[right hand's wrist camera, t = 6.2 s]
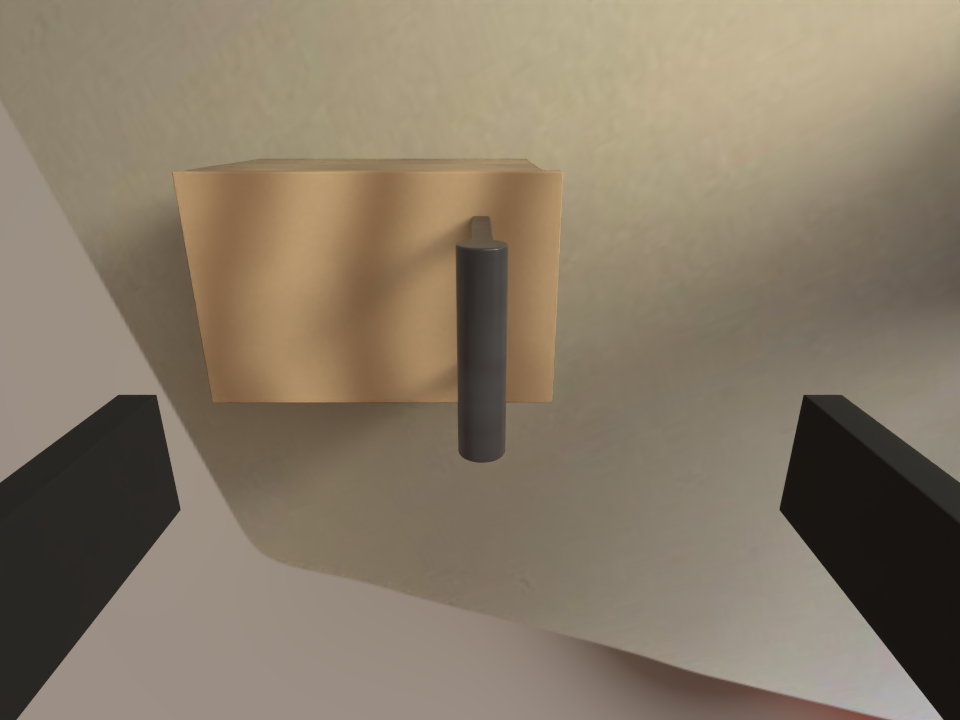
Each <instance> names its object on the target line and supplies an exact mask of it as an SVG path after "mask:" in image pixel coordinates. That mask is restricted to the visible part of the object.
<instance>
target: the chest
mask: <svg viewBox="0 0 960 720" xmlns="http://www.w3.org/2000/svg"><path fill="white" fill-rule="evenodd" d="M185 171H543V170H541V169H540V168H538V167H537V166H535V165H534V164H533V163H531V162H530V161H528V160H527V159H258V160H251V161H245V162H238V163H231V164H225V165H218V166H211V167H204V168H198V169H191V170H185Z"/></svg>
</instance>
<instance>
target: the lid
mask: <svg viewBox="0 0 960 720" xmlns="http://www.w3.org/2000/svg"><path fill="white" fill-rule="evenodd" d="M172 174H173V180H174V185H175V191H176V197H177V202H178V208H179V214H180V220H181V225H182V231H183V237H184V242H185V248H186V254H187V259H188V265H189V271H190V276H191V282H192V288H193V294H194V299H195V305H196V311H197V316H198V322H199V328H200V333H201V339H202V345H203V351H204V356H205V362H206V368H207V373H208V379H209V385H210V390H211V396H212V402H213V403H294V402H458V450H459V453H460V455H461V456H462V457H463V458H465V459H467V460H469V461H473V462H491V461H494V460H497V459H499V458H500V457H502V456H503V454H504V452H505V419H506V402H552V399H553V378H554V356H555V335H556V314H557V293H558V272H559V251H560V230H561V209H562V188H563V172H561V171H177V172H173V173H172Z"/></svg>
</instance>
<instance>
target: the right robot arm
mask: <svg viewBox="0 0 960 720" xmlns="http://www.w3.org/2000/svg"><path fill="white" fill-rule="evenodd" d="M779 510H780V511H781V512H782V514H783V515H784V516H785V517H786V519H787V520H788V521H789V523H790V524H791V525H792V526H793V528H794V529H795V530H796V532H797V533H798V534H799V535H800V537H801V538H802V539H803V540H804V542H805V543H806V544H807V546H808V547H809V548H810V549H811V551H812V552H813V553H814V555H815V556H816V557H817V558H818V560H819V561H820V562H821V563H822V565H823V566H824V567H825V569H826V570H827V571H828V572H829V574H830V575H831V576H832V578H833V579H834V580H835V581H836V583H837V584H838V585H839V587H840V588H841V589H842V590H843V592H844V593H845V594H846V595H847V597H848V598H849V599H850V601H851V602H852V603H853V604H854V606H855V607H856V608H857V610H858V611H859V612H860V613H861V615H862V616H863V617H864V619H865V620H866V621H867V622H868V624H869V625H870V626H871V627H872V629H873V630H874V631H875V633H876V634H877V635H878V636H879V638H880V639H881V640H882V642H883V643H884V644H885V645H886V647H887V648H888V649H889V650H890V652H891V653H892V654H893V656H894V657H895V658H896V659H897V661H898V662H899V663H900V665H901V666H902V667H903V668H904V670H905V671H906V672H907V674H908V675H909V676H910V677H911V679H912V680H913V681H914V682H915V684H916V685H917V686H918V688H919V689H920V690H921V691H922V693H923V694H924V695H925V697H926V698H927V699H928V700H929V702H930V703H931V704H932V705H933V707H934V708H935V709H936V711H937V712H938V713H939V714H940V716H941V717H942V718H943V720H960V483H959V482H958V481H957V480H955V479H954V478H953V477H951V476H950V475H949V474H947V473H946V472H945V471H943V470H942V469H941V468H939V467H938V466H937V465H935V464H934V463H932V462H931V461H930V460H928V459H927V458H926V457H924V456H923V455H922V454H920V453H919V452H918V451H916V450H915V449H914V448H912V447H911V446H910V445H908V444H907V443H906V442H904V441H903V440H901V439H900V438H899V437H897V436H896V435H895V434H893V433H892V432H891V431H889V430H888V429H887V428H885V427H884V426H883V425H881V424H880V423H879V422H877V421H876V420H875V419H873V418H872V417H871V416H869V415H868V414H866V413H865V412H864V411H862V410H861V409H860V408H858V407H857V406H856V405H854V404H853V403H852V402H850V401H849V400H848V399H846V398H845V397H844V396H842V395H804V396H803V401H802V405H801V410H800V415H799V420H798V424H797V429H796V434H795V439H794V443H793V448H792V453H791V457H790V462H789V467H788V472H787V476H786V481H785V486H784V491H783V495H782V500H781V505H780V509H779ZM179 511H180V505H179V500H178V495H177V491H176V486H175V481H174V476H173V472H172V467H171V462H170V457H169V453H168V448H167V443H166V439H165V434H164V429H163V424H162V420H161V415H160V410H159V405H158V401H157V396H156V395H118V396H116V397H115V398H114V399H112V400H111V401H110V402H108V403H107V404H106V405H104V406H103V407H102V408H100V409H99V410H98V411H96V412H95V413H94V414H92V415H91V416H89V417H88V418H87V419H86V420H84V421H83V422H81V423H80V424H79V425H77V426H76V427H75V428H73V429H72V430H71V431H69V432H68V433H67V434H65V435H64V436H63V437H61V438H60V439H59V440H57V441H56V442H55V443H53V444H52V445H50V446H49V447H48V448H46V449H45V450H44V451H42V452H41V453H40V454H38V455H37V456H36V457H34V458H33V459H32V460H30V461H29V462H28V463H26V464H25V465H24V466H22V467H21V468H19V469H18V470H17V471H15V472H14V473H13V474H11V475H10V476H9V477H7V478H6V479H5V480H3V481H2V482H1V483H0V720H16V719H17V718H18V717H19V716H20V714H21V713H22V712H23V711H24V709H25V708H26V707H27V705H28V704H29V703H30V702H31V700H32V699H33V698H34V696H35V695H36V694H37V693H38V691H39V690H40V689H41V688H42V686H43V685H44V684H45V682H46V681H47V680H48V679H49V677H50V676H51V675H52V674H53V672H54V671H55V670H56V668H57V667H58V666H59V665H60V663H61V662H62V661H63V659H64V658H65V657H66V656H67V654H68V653H69V652H70V650H71V649H72V648H73V647H74V645H75V644H76V643H77V642H78V640H79V639H80V638H81V636H82V635H83V634H84V633H85V631H86V630H87V629H88V627H89V626H90V625H91V624H92V622H93V621H94V620H95V618H96V617H97V616H98V615H99V613H100V612H101V611H102V610H103V608H104V607H105V606H106V604H107V603H108V602H109V600H110V599H111V598H112V597H113V595H114V594H115V593H116V592H117V590H118V589H119V588H120V587H121V585H122V584H123V583H124V581H125V580H126V579H127V578H128V576H129V575H130V574H131V572H132V571H133V570H134V569H135V567H136V566H137V565H138V563H139V562H140V561H141V560H142V558H143V557H144V556H145V555H146V553H147V552H148V551H149V549H150V548H151V547H152V546H153V544H154V543H155V542H156V540H157V539H158V538H159V537H160V535H161V534H162V533H163V531H164V530H165V529H166V528H167V526H168V525H169V524H170V523H171V521H172V520H173V519H174V517H175V516H176V515H177V514H178V512H179Z"/></svg>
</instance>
